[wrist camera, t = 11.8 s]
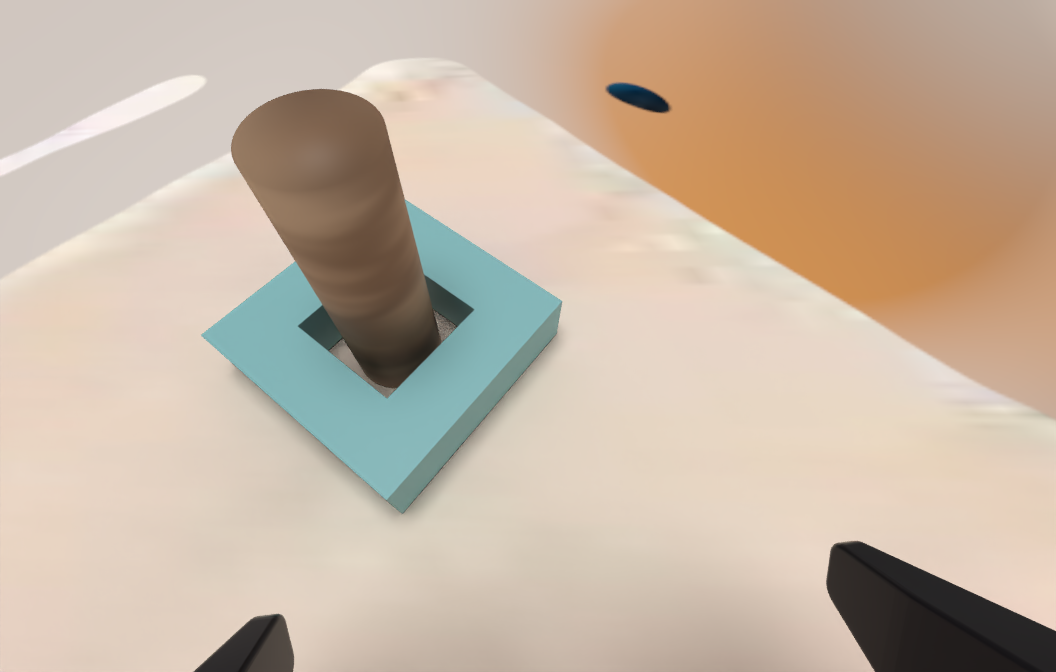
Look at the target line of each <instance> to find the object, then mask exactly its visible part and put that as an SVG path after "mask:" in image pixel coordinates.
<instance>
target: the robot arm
mask: <svg viewBox="0 0 1056 672" xmlns="http://www.w3.org/2000/svg"><path fill="white" fill-rule="evenodd" d="M826 584H827V590H828V593H829V596H830V598H831V600H832V602H833V603H834V605H835V606H836V608H837V610H838V611H839V613H840V615H841V616H842V618H843V620H844V621H845V623H846V625H847V626H848V628H849V630H850V631H851V633H852V635H853V636H854V638H855V640H856V641H857V643H858V644H859V646H860V648H861V649H862V651H863V653H864V654H865V656H866V658H867V659H868V661H869V663H870V664H871V666H872V668H873V669H874V671H875V672H1056V631H1054V630H1052V629H1050V628H1048V627H1046V626H1044V625H1041V624H1039V623H1037V622H1035V621H1033V620H1031V619H1028V618H1026V617H1024V616H1022V615H1020V614H1017V613H1015V612H1013V611H1011V610H1009V609H1007V608H1004V607H1002V606H1000V605H998V604H996V603H993V602H991V601H989V600H987V599H985V598H983V597H980V596H978V595H976V594H974V593H972V592H970V591H967V590H965V589H963V588H961V587H959V586H956V585H954V584H952V583H950V582H948V581H946V580H943V579H941V578H939V577H937V576H935V575H932V574H930V573H928V572H926V571H924V570H922V569H919V568H917V567H915V566H913V565H911V564H909V563H906V562H904V561H902V560H900V559H898V558H895V557H893V556H891V555H889V554H887V553H885V552H882V551H880V550H878V549H876V548H874V547H871V546H869V545H867V544H865V543H863V542H860V541H849V542H841V543H836V544H834V545H833V547H832V548H831V551H830V558H829V566H828V573H827V580H826ZM293 668H294V654H293V649H292V645H291V641H290V637H289V633H288V629H287V625H286V621H285V619H284V617H283V616H282V615H281V614H272V615H264V616H257V617H254V618H253V619H251V620H250V621H248V622H247V623H246V624H245V625H244V626H243V627H242V628H241V629H240V630H239V631H237V632H236V633H235V634H234V635H233V636H232V637H231V638H230V639H229V640H228V641H226V642H225V643H224V644H223V645H222V646H221V647H220V648H219V649H218V650H217V651H216V652H214V653H213V654H212V655H211V656H210V657H209V658H208V659H207V660H206V661H205V662H204V663H202V664H201V665H200V666H199V667H198V668H197V669H196V670H195V671H194V672H293Z"/></svg>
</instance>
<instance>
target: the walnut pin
mask: <svg viewBox="0 0 1056 672" xmlns="http://www.w3.org/2000/svg"><path fill="white" fill-rule="evenodd" d="M231 152H232V157H233V160H234V163H235V164H236V166H237V168H238V169H239V171H240V173H241V174H242V176H243V177H244V179H245V181H246V182H247V184H248V185H249V187H250V189H251V190H252V192H253V193H254V195H255V197H256V198H257V200H258V202H259V203H260V205H261V206H262V208H263V210H264V211H265V213H266V214H267V216H268V218H269V219H270V221H271V223H272V224H273V226H274V227H275V229H276V231H277V232H278V234H279V235H280V237H281V239H282V240H283V242H284V244H285V245H286V247H287V248H288V250H289V252H290V253H291V255H292V256H293V258H294V260H295V261H296V263H297V265H298V266H299V268H300V269H301V271H302V273H303V274H304V276H305V277H306V279H307V281H308V282H309V284H310V285H311V287H312V289H313V290H314V292H315V294H316V295H317V297H318V298H319V300H320V302H321V303H322V305H323V306H324V308H325V310H326V311H327V313H328V315H329V316H330V318H331V319H332V321H333V323H334V324H335V326H336V327H337V329H338V331H339V332H340V334H341V336H342V337H343V339H344V340H345V342H346V344H347V345H348V347H349V348H350V350H351V352H352V353H353V355H354V356H355V358H356V360H357V361H358V363H359V365H360V366H361V368H362V369H363V371H364V373H365V374H366V375H367V376H368V377H369V378H370V379H371V380H372V381H374V382H375V383H377V384H379V385H382V386H385V387H391V388H398V387H399V386H400V385H401V384H402V383H403V382H404V381H405V380H406V379H407V378H408V377H409V376H410V375H411V374H412V373H413V372H414V371H415V370H416V369H417V368H418V367H419V366H420V365H421V364H422V363H423V362H424V361H425V360H426V359H427V358H428V356H429V355H430V354H431V353H432V352H433V351H434V350H435V349H436V348H437V347H438V346H439V345H440V344H441V339H440V335H439V331H438V327H437V323H436V319H435V316H434V312H433V308H432V304H431V300H430V296H429V292H428V288H427V284H426V280H425V277H424V273H423V269H422V265H421V261H420V257H419V253H418V249H417V245H416V242H415V238H414V234H413V230H412V226H411V222H410V218H409V214H408V210H407V206H406V203H405V199H404V195H403V191H402V187H401V183H400V179H399V175H398V171H397V167H396V164H395V160H394V156H393V152H392V148H391V144H390V140H389V136H388V132H387V129H386V125H385V122H384V119H383V117H382V115H381V113H380V112H379V111H378V110H377V108H376V107H375V106H373V105H372V104H371V103H370V102H368V101H367V100H365V99H363V98H361V97H359V96H357V95H354V94H351V93H348V92H344V91H338V90H329V89H315V90H314V89H313V90H305V91H299V92H294V93H291V94H287V95H283V96H281V97H278V98H275V99H273V100H271V101H269V102H267V103H265V104H263V105H262V106H260V107H258V108H257V109H256V110H254V111H253V112H252V113H251V114H249V115H248V116H247V117H246V118H245V119H244V120H243V121H242V122H241V124H240V125H239V127H238V128H237V130H236V132H235V134H234V136H233V140H232V144H231Z"/></svg>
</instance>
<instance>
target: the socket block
mask: <svg viewBox="0 0 1056 672" xmlns="http://www.w3.org/2000/svg"><path fill="white" fill-rule="evenodd" d="M405 203H406V206H407V210H408V214H409V218H410V222H411V226H412V230H413V234H414V238H415V242H416V245H417V249H418V253H419V257H420V261H421V265H422V269H423V273H424V277H425V280H426V284H427V288H428V292H429V296H430V300H431V304H432V308H433V309H434V310H435V311H437V312H438V313H440V314H441V315H442V316H444V317H445V318H447V319H448V320H449V321H451V322H452V323H454V324H455V325H456V326H458V327H457V328H456V329H455V330H454V331H453V332H452V333H451V334H450V335H449V336H448V337H447V338H446V339H445V340H444V341H443V342H442V343H441V344H440V345H439V346H438V347H437V348H436V349H435V350H434V351H433V352H432V353H431V354H430V355H429V356H428V358H427V359H426V360H425V361H424V362H423V363H422V364H421V365H420V366H419V367H418V368H417V369H416V370H415V371H414V372H413V373H412V374H411V375H410V376H409V377H408V378H407V379H406V380H405V381H404V382H403V383H402V384H401V385H400V386H399V387H398V388H397V389H396V390H395V391H394V392H393V393H392V394H391V395H390V396H389V397H388V398H386V397H384V396H383V395H382V394H381V393H379V392H378V391H377V390H376V389H374V388H373V387H372V386H371V385H369V384H368V383H367V382H366V381H365V380H363V379H362V378H361V377H360V376H358V375H357V374H356V373H355V372H353V371H352V370H351V369H350V368H349V367H347V366H346V365H345V364H344V363H342V362H341V361H340V360H339V359H337V358H336V357H335V356H334V355H332V354H331V353H330V352H329V351H328V350H329V349H330V348H332V347H333V346H334V345H335V344H336V343H337V342H338V341H339V340H340V339H342V338H343V337H342V336H341V334H340V332H339V331H338V329H337V327H336V326H335V324H334V323H333V321H332V319H331V318H330V316H329V315H328V313H327V311H326V310H325V308H324V306H323V305H322V303H321V302H320V300H319V298H318V297H317V295H316V294H315V292H314V290H313V289H312V287H311V285H310V284H309V282H308V281H307V279H306V277H305V276H304V274H303V273H302V271H301V269H300V268H299V266H298V265H297V263H296V261H295V262H294V263H293V264H291V265H290V266H289V267H288V268H286V269H285V270H284V271H282V272H281V273H280V274H279V275H277V276H276V277H275V278H273V279H272V280H271V281H270V282H268V283H267V284H266V285H264V286H263V287H262V288H261V289H259V290H258V291H257V292H255V293H254V294H253V295H252V296H250V297H249V298H248V299H247V300H245V301H244V302H243V303H241V304H240V305H239V306H238V307H236V308H235V309H234V310H232V311H231V312H230V313H229V314H227V315H226V316H225V317H223V318H222V319H221V320H220V321H218V322H217V323H216V324H214V325H213V326H212V327H211V328H209V329H208V330H207V331H206V332H204V333H203V334H202V335H201V336H202V337H203V338H205V339H206V340H207V341H208V342H209V343H210V344H211V345H212V346H213V347H215V348H216V349H217V350H218V351H219V352H220V353H221V354H222V355H224V356H225V357H226V358H227V359H228V360H229V361H230V362H231V363H233V364H234V365H235V366H236V367H237V368H238V369H239V370H240V371H242V372H243V373H244V374H245V375H246V376H247V377H248V378H249V379H251V380H252V381H253V382H254V383H255V384H256V385H257V386H258V387H260V388H261V389H262V390H263V391H264V392H265V393H266V394H267V395H269V396H270V397H271V398H272V399H273V400H274V401H275V402H276V403H278V404H279V405H280V406H281V407H282V408H283V409H284V410H285V411H287V412H288V413H289V414H290V415H291V416H292V417H293V418H294V419H295V420H297V421H298V422H299V423H300V424H301V425H302V426H303V427H304V428H306V429H307V430H308V431H309V432H310V433H311V434H312V435H313V436H315V437H316V438H317V439H318V440H319V441H320V442H321V443H322V444H324V445H325V446H326V447H327V448H328V449H329V450H330V451H331V452H333V453H334V454H335V455H336V456H337V457H338V458H339V459H340V460H342V461H343V462H344V463H345V464H346V465H347V466H348V467H349V468H351V469H352V470H353V471H354V472H355V473H356V474H357V475H358V476H360V477H361V478H362V479H363V480H364V481H365V482H366V483H367V484H369V485H370V486H371V487H372V488H373V489H374V490H375V491H376V492H378V493H379V494H380V495H381V496H382V497H383V498H384V499H385V500H386V501H388V502H389V503H390V504H391V505H392V506H394V507H395V508H396V509H397V510H398V511H399V512H401V513H402V514H403V513H404V511H405V510H406V509H407V508H408V507H409V506H410V504H411V503H412V502H413V501H414V500H415V498H416V497H417V496H418V495H419V494H420V493H421V491H422V490H423V489H424V488H425V487H426V486H427V484H428V483H429V482H430V481H431V480H432V479H433V477H434V476H435V475H436V474H437V473H438V472H439V470H440V469H441V468H442V467H443V466H444V465H445V463H446V462H447V461H448V460H449V459H450V458H451V456H452V455H453V454H454V453H455V452H456V451H457V449H458V448H459V447H460V446H461V445H462V444H463V442H464V441H465V440H466V439H467V438H468V437H469V435H470V434H471V433H472V432H473V431H474V429H475V428H476V427H477V426H478V425H479V424H480V422H481V421H482V420H483V419H484V418H485V417H486V415H487V414H488V413H489V412H490V411H491V410H492V408H493V407H494V406H495V405H496V404H497V403H498V401H499V400H500V399H501V398H502V397H503V396H504V394H505V393H506V392H507V391H508V390H509V389H510V387H511V386H512V385H513V384H514V383H515V382H516V380H517V379H518V378H519V377H520V376H521V375H522V373H523V372H524V371H525V370H526V369H527V368H528V366H529V365H530V364H531V363H532V362H533V360H534V359H535V358H536V357H537V356H538V355H539V353H540V352H541V351H542V350H543V349H544V348H545V346H546V345H547V344H548V343H549V342H550V341H551V339H552V338H553V337H554V336H555V335H556V334H557V328H558V322H559V317H560V311H561V305H562V301H561V300H560V299H558V298H556V297H555V296H553V295H552V294H550V293H549V292H547V291H546V290H544V289H543V288H541V287H539V286H538V285H536V284H535V283H533V282H532V281H530V280H529V279H527V278H526V277H524V276H522V275H521V274H519V273H518V272H516V271H515V270H513V269H512V268H510V267H509V266H507V265H505V264H504V263H502V262H501V261H499V260H498V259H496V258H495V257H493V256H492V255H490V254H488V253H487V252H485V251H484V250H482V249H481V248H479V247H478V246H476V245H475V244H473V243H471V242H470V241H468V240H467V239H465V238H464V237H462V236H461V235H459V234H458V233H456V232H454V231H453V230H451V229H450V228H448V227H447V226H445V225H444V224H442V223H441V222H439V221H437V220H436V219H434V218H433V217H431V216H430V215H428V214H427V213H425V212H424V211H422V210H420V209H419V208H417V207H416V206H414V205H413V204H411V203H410V202H408V201H407V200H405Z"/></svg>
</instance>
